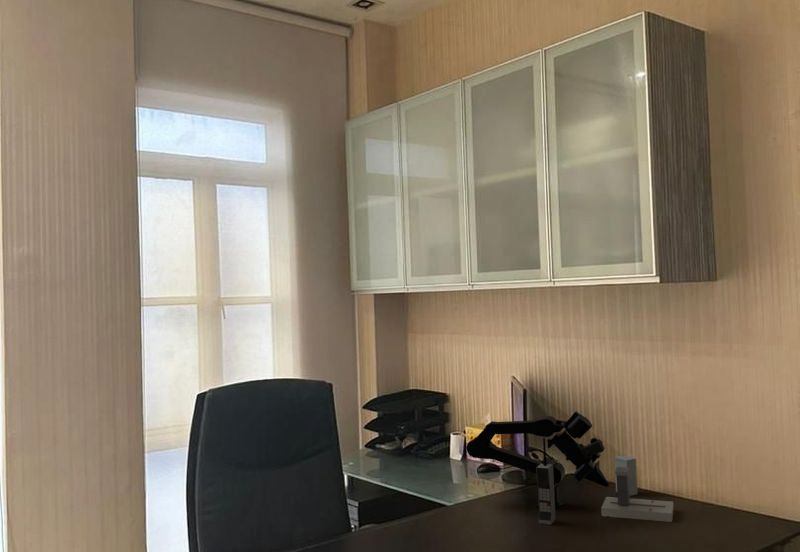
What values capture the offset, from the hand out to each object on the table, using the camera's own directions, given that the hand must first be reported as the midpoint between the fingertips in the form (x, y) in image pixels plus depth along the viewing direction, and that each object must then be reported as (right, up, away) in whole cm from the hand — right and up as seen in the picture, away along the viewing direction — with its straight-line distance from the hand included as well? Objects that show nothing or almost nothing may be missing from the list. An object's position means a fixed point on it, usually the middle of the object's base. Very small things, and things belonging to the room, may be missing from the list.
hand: (608, 485), depth 220 cm
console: (+8, -7, -3) cm, 11 cm away
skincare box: (+11, -8, +18) cm, 22 cm away
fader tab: (+4, -5, -2) cm, 7 cm away
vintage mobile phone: (-21, -8, -8) cm, 24 cm away
